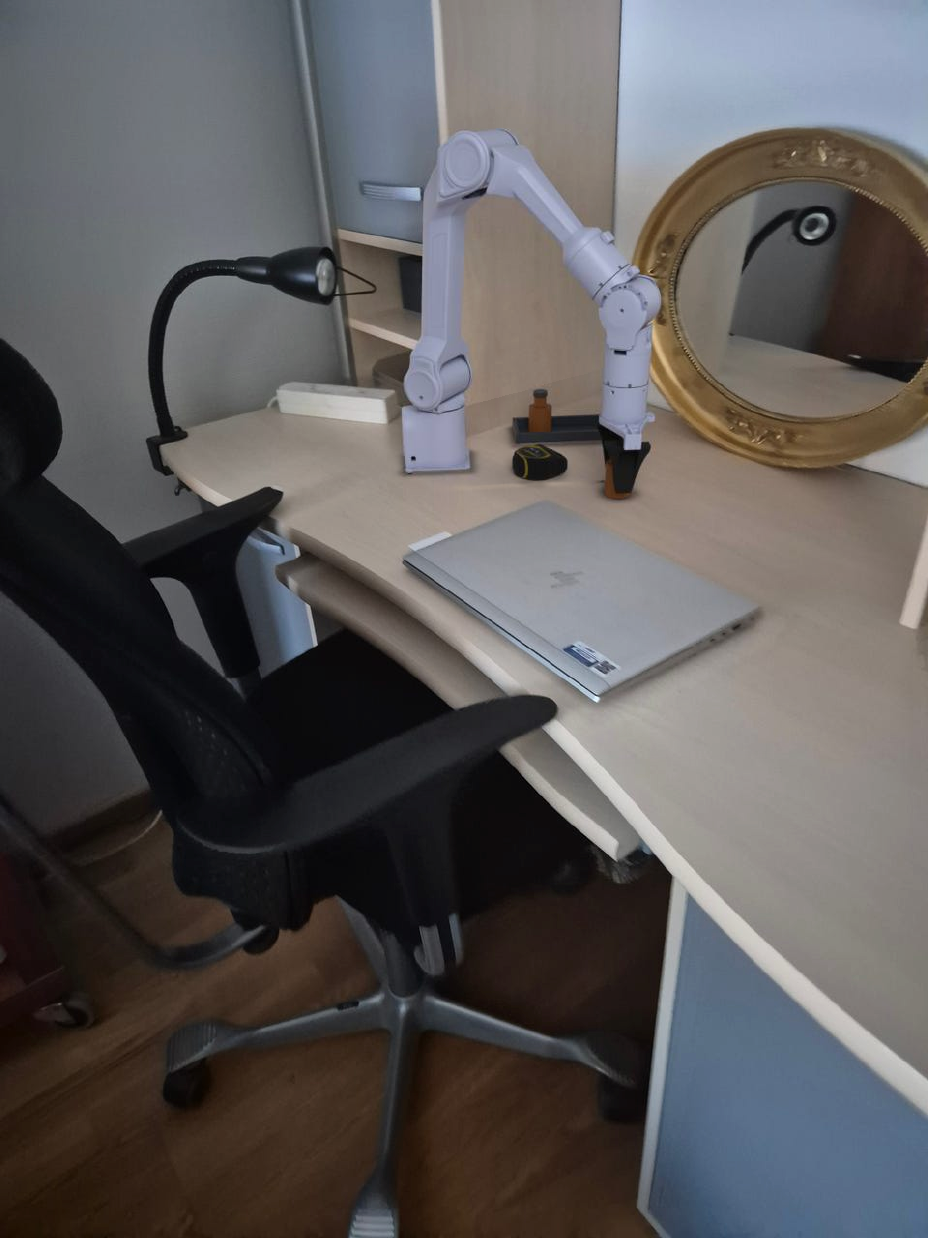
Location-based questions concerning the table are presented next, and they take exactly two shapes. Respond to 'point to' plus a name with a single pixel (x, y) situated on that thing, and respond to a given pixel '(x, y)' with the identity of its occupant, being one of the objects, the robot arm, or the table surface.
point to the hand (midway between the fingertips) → (618, 482)
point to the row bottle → (540, 412)
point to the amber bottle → (609, 484)
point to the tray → (559, 429)
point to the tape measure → (538, 462)
